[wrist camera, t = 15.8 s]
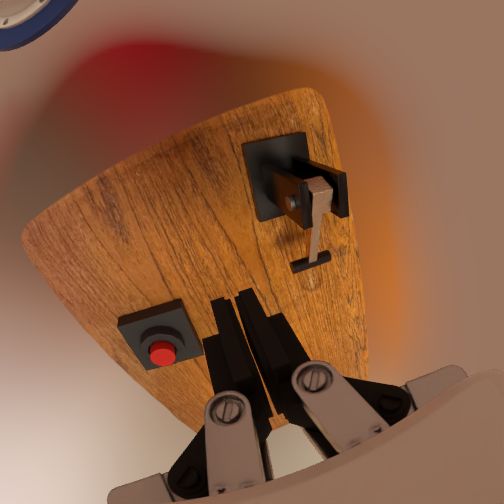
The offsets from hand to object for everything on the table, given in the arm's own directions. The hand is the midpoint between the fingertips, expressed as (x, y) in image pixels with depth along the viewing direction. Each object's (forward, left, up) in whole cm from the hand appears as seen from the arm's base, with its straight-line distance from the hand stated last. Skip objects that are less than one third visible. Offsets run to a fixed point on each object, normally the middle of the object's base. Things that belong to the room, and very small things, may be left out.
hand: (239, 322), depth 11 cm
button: (-11, -20, -22) cm, 31 cm away
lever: (+11, -6, -18) cm, 22 cm away
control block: (-11, -20, -25) cm, 34 cm away
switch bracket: (+11, -2, -25) cm, 27 cm away
